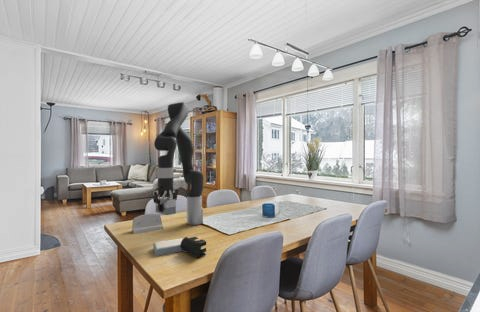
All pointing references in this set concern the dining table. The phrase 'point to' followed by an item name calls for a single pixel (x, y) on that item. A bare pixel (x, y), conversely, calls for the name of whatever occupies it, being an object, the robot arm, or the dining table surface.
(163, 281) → the dining table surface
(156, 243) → the stand
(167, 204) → the housing
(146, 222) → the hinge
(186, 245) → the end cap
